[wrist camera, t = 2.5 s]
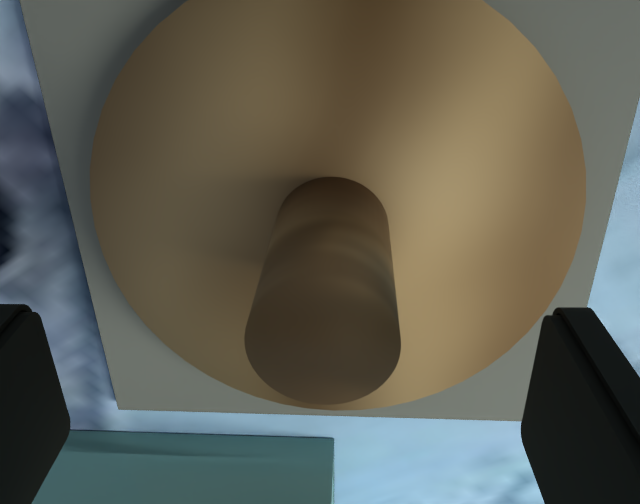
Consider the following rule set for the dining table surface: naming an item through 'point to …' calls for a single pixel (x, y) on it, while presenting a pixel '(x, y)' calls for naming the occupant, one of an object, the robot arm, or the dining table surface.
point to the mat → (214, 396)
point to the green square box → (189, 469)
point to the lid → (338, 193)
